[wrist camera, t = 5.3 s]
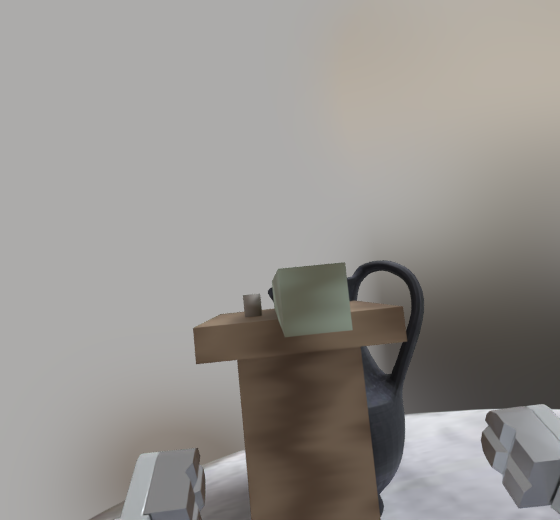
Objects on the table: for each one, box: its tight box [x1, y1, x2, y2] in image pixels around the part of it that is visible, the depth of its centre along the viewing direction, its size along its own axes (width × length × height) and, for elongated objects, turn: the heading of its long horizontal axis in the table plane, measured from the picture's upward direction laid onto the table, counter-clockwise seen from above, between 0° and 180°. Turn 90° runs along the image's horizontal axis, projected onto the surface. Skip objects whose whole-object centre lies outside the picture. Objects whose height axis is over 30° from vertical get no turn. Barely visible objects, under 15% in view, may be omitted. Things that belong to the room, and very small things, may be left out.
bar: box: [272, 263, 353, 337], centre depth 22 cm, size 2×19×2 cm, turn 2°
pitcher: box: [268, 260, 424, 517], centre depth 46 cm, size 17×21×30 cm
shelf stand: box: [193, 294, 407, 520], centre depth 26 cm, size 12×12×28 cm
